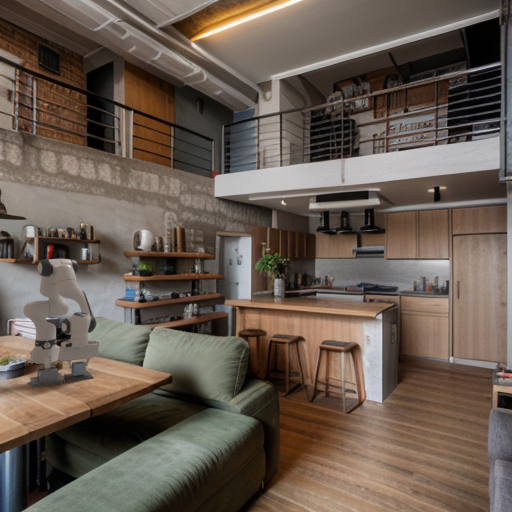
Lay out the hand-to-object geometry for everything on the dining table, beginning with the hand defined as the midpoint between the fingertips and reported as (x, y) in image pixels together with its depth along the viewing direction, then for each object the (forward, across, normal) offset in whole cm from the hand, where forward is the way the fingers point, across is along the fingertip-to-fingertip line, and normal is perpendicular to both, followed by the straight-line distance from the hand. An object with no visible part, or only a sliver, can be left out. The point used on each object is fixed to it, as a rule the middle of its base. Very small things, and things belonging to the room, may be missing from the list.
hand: (78, 367), depth 194 cm
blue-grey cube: (+3, 0, 0) cm, 3 cm away
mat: (+5, 0, 0) cm, 5 cm away
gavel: (+6, +10, -18) cm, 21 cm away
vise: (+5, +15, 0) cm, 16 cm away
